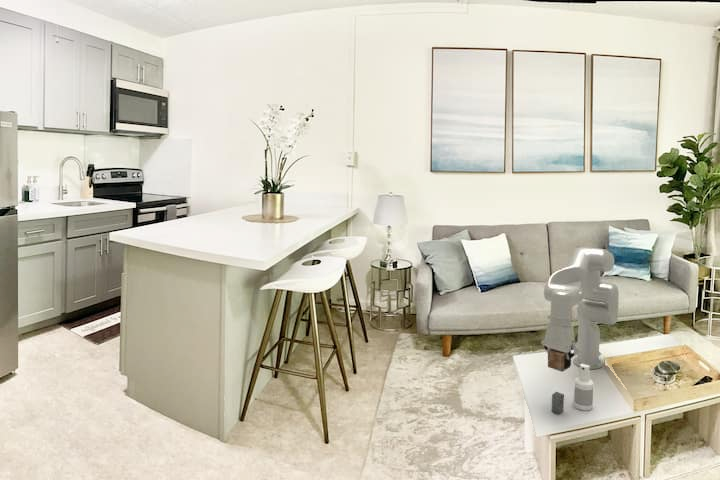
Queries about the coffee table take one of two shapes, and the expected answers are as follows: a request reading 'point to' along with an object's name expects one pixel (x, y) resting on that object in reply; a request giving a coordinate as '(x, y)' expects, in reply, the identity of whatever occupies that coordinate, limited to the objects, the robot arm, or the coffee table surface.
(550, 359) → the tan wooden cube
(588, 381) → the spray bottle
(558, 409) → the post
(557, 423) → the coffee table surface
